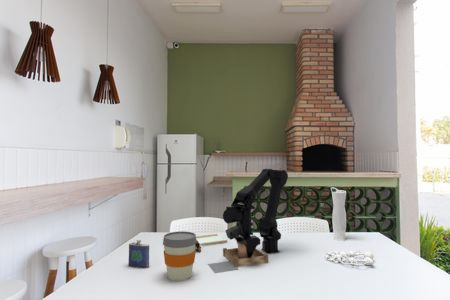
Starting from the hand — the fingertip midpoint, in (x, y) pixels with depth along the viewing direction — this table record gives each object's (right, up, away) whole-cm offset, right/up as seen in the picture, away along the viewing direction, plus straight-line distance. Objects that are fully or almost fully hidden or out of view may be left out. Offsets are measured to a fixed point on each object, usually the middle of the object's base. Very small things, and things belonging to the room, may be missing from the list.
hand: (244, 256), depth 126 cm
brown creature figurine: (-25, -2, +11) cm, 27 cm away
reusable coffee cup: (-26, -1, -17) cm, 31 cm away
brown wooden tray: (0, -2, 0) cm, 2 cm away
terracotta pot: (0, -1, 0) cm, 1 cm away
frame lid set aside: (-17, -2, +28) cm, 33 cm away
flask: (-44, -2, -8) cm, 45 cm away
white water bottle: (+53, -3, +31) cm, 62 cm away
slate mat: (-10, -1, -9) cm, 13 cm away
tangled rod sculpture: (+45, -2, -3) cm, 45 cm away
